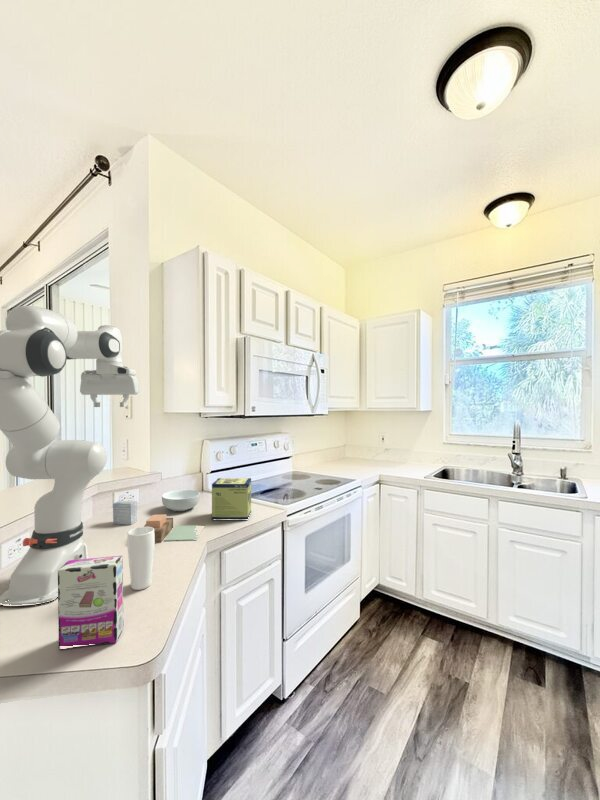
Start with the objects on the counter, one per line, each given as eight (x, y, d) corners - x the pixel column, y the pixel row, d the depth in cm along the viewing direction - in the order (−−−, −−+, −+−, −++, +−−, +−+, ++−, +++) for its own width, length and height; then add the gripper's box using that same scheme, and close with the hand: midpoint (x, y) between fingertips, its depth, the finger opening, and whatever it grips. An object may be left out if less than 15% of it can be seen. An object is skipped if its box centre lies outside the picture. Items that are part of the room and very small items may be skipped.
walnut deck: (161, 542, 123) (161, 531, 123) (138, 543, 123) (137, 531, 123) (173, 527, 137) (173, 517, 137) (152, 528, 137) (152, 518, 137)
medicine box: (137, 521, 145) (137, 500, 145) (131, 525, 141) (131, 503, 141) (119, 520, 146) (119, 500, 146) (112, 524, 141) (112, 503, 141)
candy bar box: (124, 628, 77) (124, 554, 77) (116, 643, 72) (116, 564, 72) (68, 634, 75) (68, 558, 75) (57, 651, 70) (56, 570, 70)
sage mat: (196, 540, 125) (196, 539, 125) (164, 541, 125) (164, 540, 125) (205, 526, 139) (205, 525, 139) (175, 526, 138) (175, 525, 138)
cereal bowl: (184, 516, 150) (184, 500, 150) (153, 512, 156) (153, 497, 156) (207, 505, 167) (207, 490, 167) (178, 502, 172) (178, 487, 172)
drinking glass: (147, 576, 100) (147, 524, 100) (159, 584, 95) (159, 529, 95) (123, 586, 94) (122, 531, 94) (134, 595, 90) (134, 537, 90)
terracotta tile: (160, 527, 127) (160, 520, 127) (146, 527, 127) (146, 521, 127) (166, 520, 134) (166, 514, 134) (153, 521, 134) (153, 514, 134)
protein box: (248, 520, 145) (248, 483, 145) (211, 520, 145) (211, 483, 145) (251, 512, 156) (251, 477, 156) (217, 512, 156) (217, 477, 156)
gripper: (76, 369, 127) (76, 407, 127) (133, 369, 128) (133, 407, 128) (85, 370, 133) (86, 407, 133) (140, 370, 135) (140, 406, 135)
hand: (109, 407), depth 131 cm, fingers open, 8 cm apart
